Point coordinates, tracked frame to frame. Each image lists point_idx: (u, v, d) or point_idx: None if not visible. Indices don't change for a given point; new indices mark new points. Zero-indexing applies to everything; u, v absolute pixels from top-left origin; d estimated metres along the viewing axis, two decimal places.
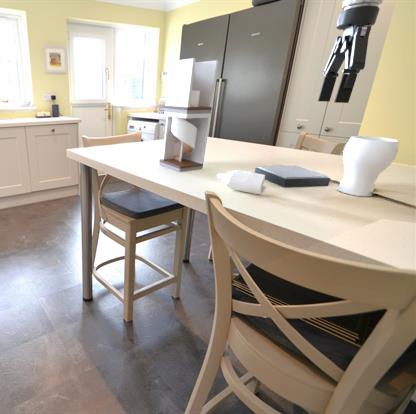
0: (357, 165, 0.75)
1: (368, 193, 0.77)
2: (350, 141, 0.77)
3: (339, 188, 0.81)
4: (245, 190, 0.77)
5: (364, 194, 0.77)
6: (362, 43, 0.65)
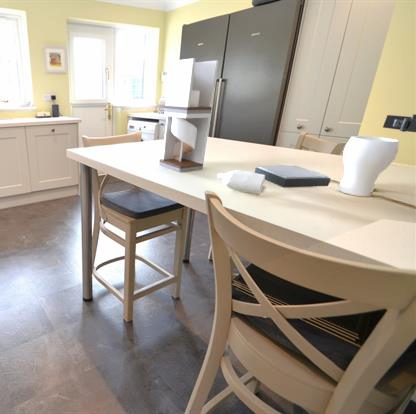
0: (357, 165, 0.75)
1: (368, 193, 0.77)
2: (350, 141, 0.77)
3: (339, 188, 0.81)
4: (245, 190, 0.77)
5: (364, 194, 0.77)
6: None
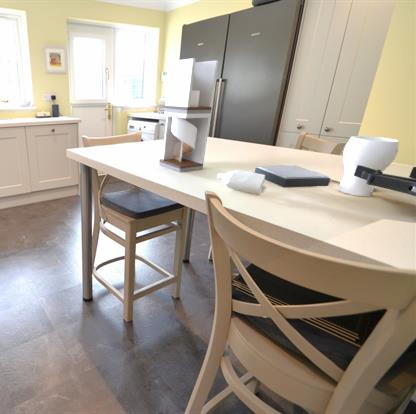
0: None
1: (368, 193, 0.77)
2: (350, 141, 0.77)
3: (339, 188, 0.81)
4: (245, 190, 0.77)
5: (364, 194, 0.77)
6: None
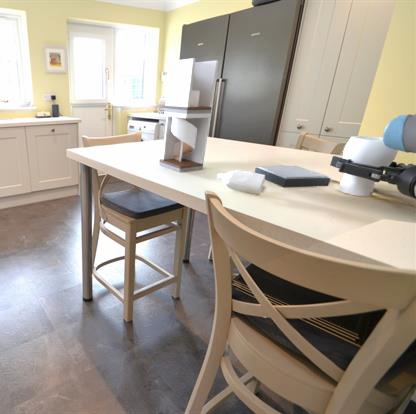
0: None
1: (368, 193, 0.77)
2: (350, 141, 0.77)
3: (339, 188, 0.81)
4: (245, 190, 0.77)
5: (364, 194, 0.77)
6: None
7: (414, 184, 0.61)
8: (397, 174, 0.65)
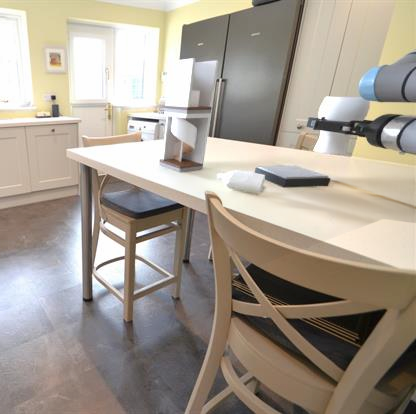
0: None
1: (342, 151, 0.78)
2: (324, 100, 0.78)
3: (315, 149, 0.83)
4: (245, 190, 0.77)
5: (338, 152, 0.78)
6: None
7: (380, 132, 0.63)
8: (366, 125, 0.66)
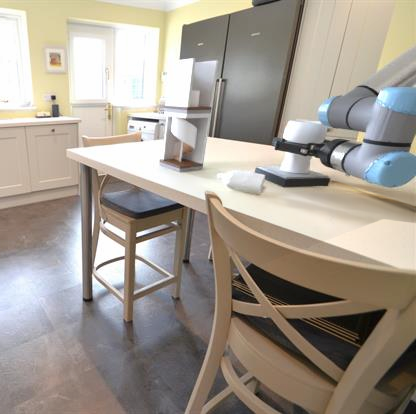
0: None
1: (304, 170, 0.86)
2: (288, 124, 0.86)
3: (281, 167, 0.91)
4: (245, 190, 0.77)
5: (300, 171, 0.86)
6: None
7: (330, 155, 0.71)
8: (319, 148, 0.74)
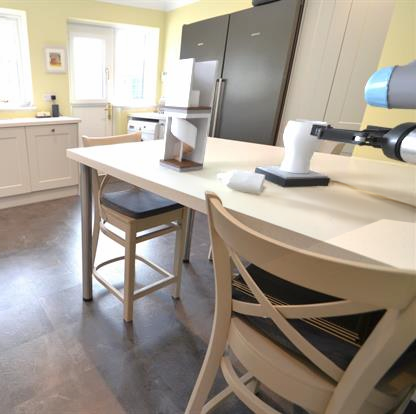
0: (293, 145, 0.85)
1: (304, 170, 0.86)
2: (288, 124, 0.86)
3: (281, 167, 0.91)
4: (245, 190, 0.77)
5: (300, 171, 0.86)
6: None
7: (400, 143, 0.54)
8: (382, 135, 0.58)
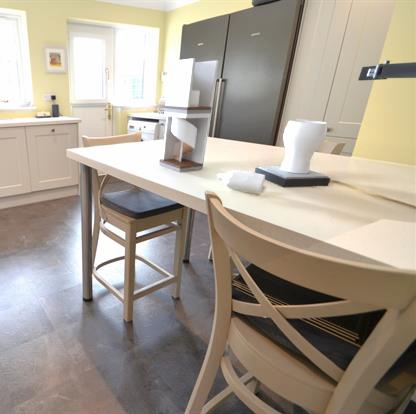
0: (293, 145, 0.85)
1: (304, 170, 0.86)
2: (288, 124, 0.86)
3: (281, 167, 0.91)
4: (245, 190, 0.77)
5: (300, 171, 0.86)
6: None
7: None
8: None
